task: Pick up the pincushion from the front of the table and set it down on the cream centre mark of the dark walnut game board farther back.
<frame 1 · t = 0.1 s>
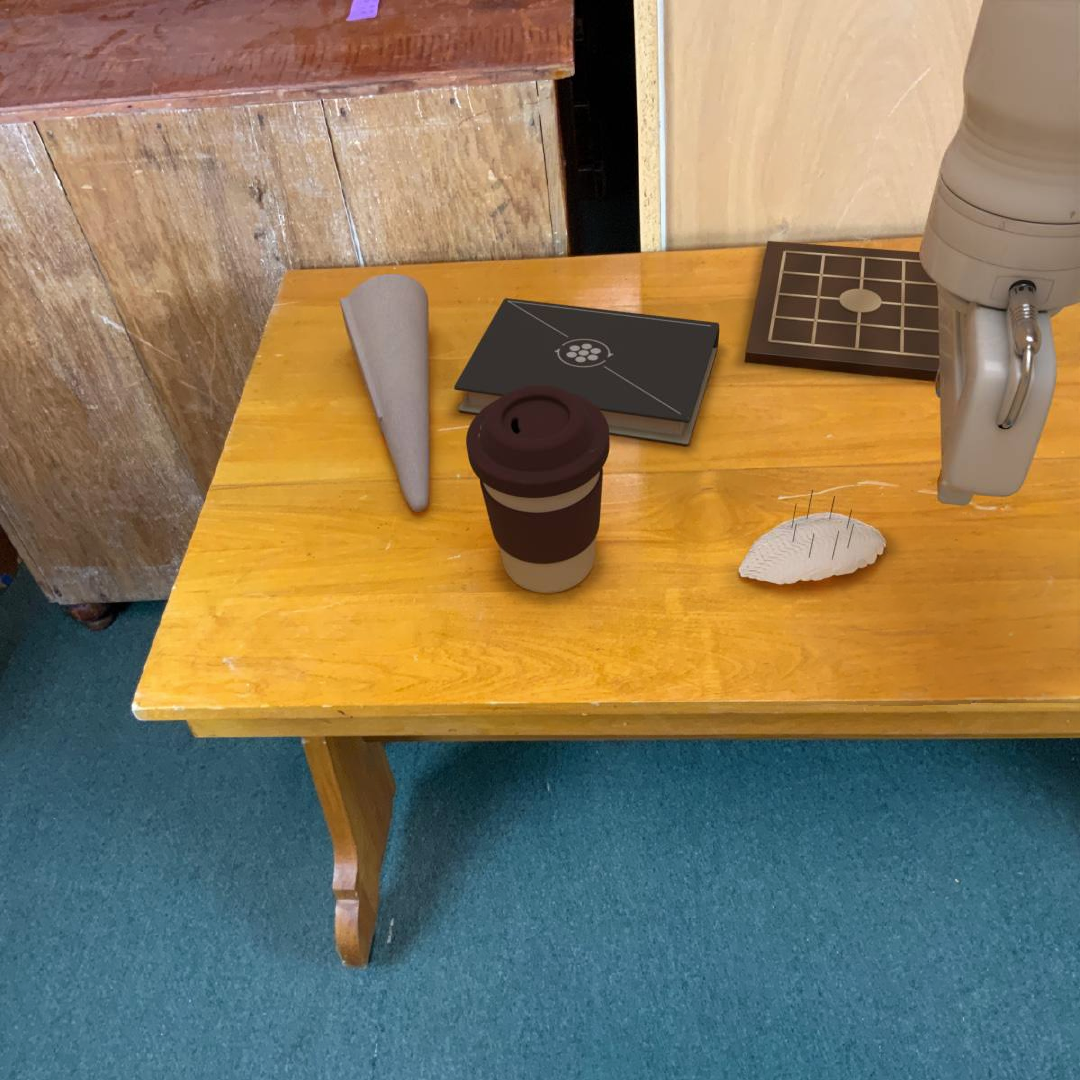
hand: (950, 441, 58), 17 cm above the table, tool pointing down, fingers open, 8 cm apart
coffee cup: (549, 562, 76), on the table
book: (591, 380, 91), on the table
pincushion: (811, 562, 74), on the table
board: (858, 311, 95), on the table
grey tapered cone: (422, 414, 89), on the table
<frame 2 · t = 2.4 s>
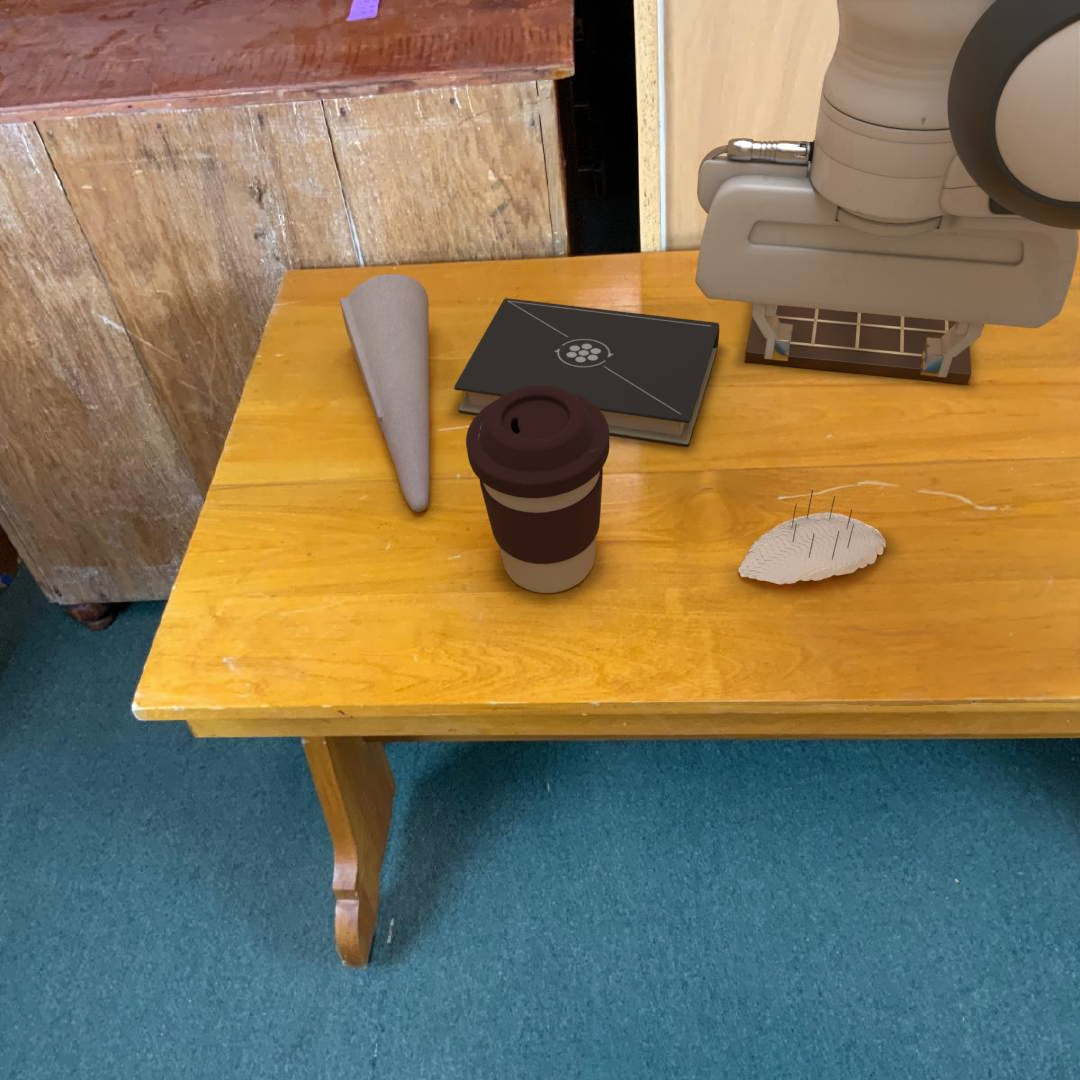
hand: (853, 362, 60), 19 cm above the table, tool pointing down, fingers open, 8 cm apart
nothing on the table moved.
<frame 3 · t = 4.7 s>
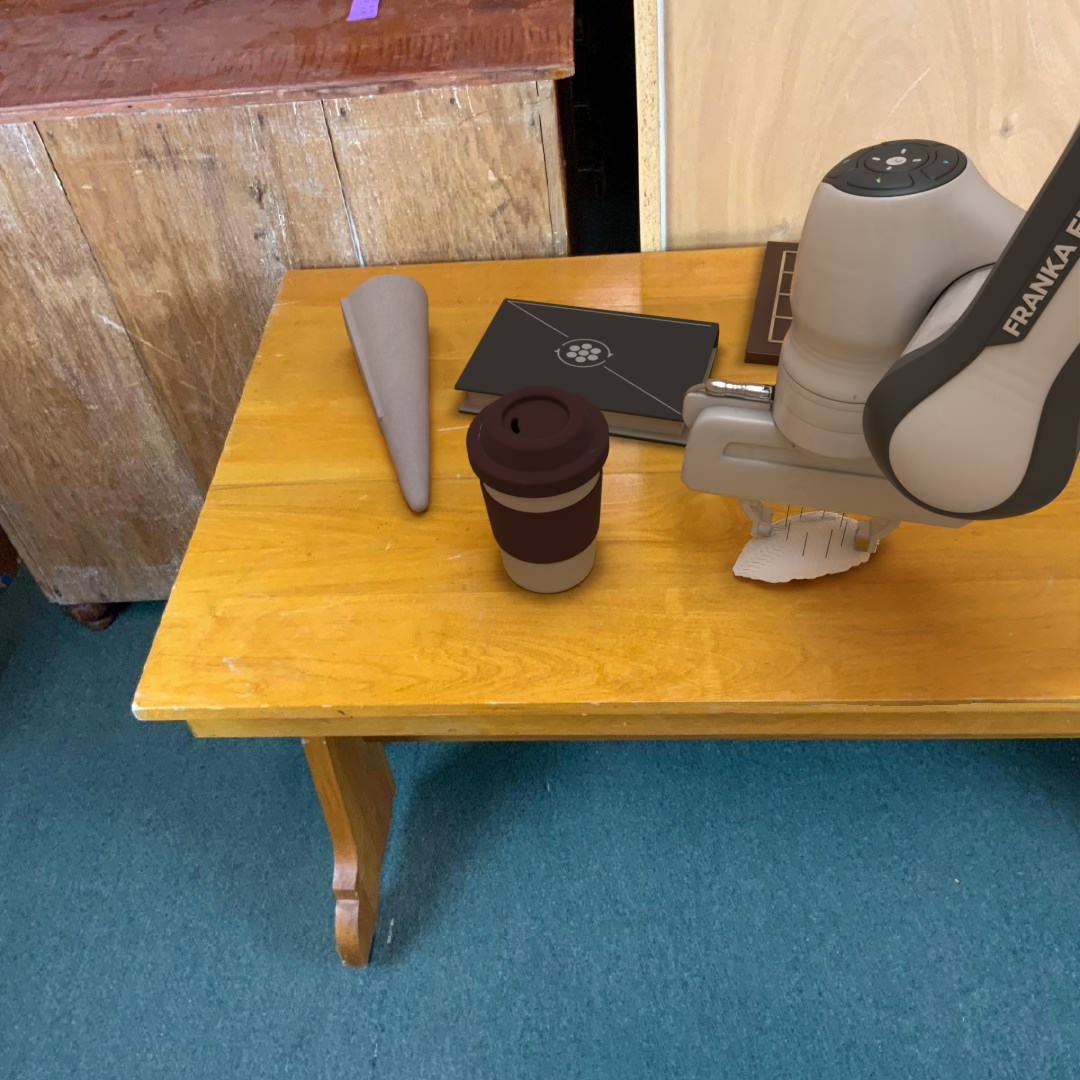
hand: (811, 538, 72), 2 cm above the table, tool pointing down, fingers closed on pincushion, 6 cm apart
pincushion: (805, 561, 74), on the table, touching gripper
everything else where it was.
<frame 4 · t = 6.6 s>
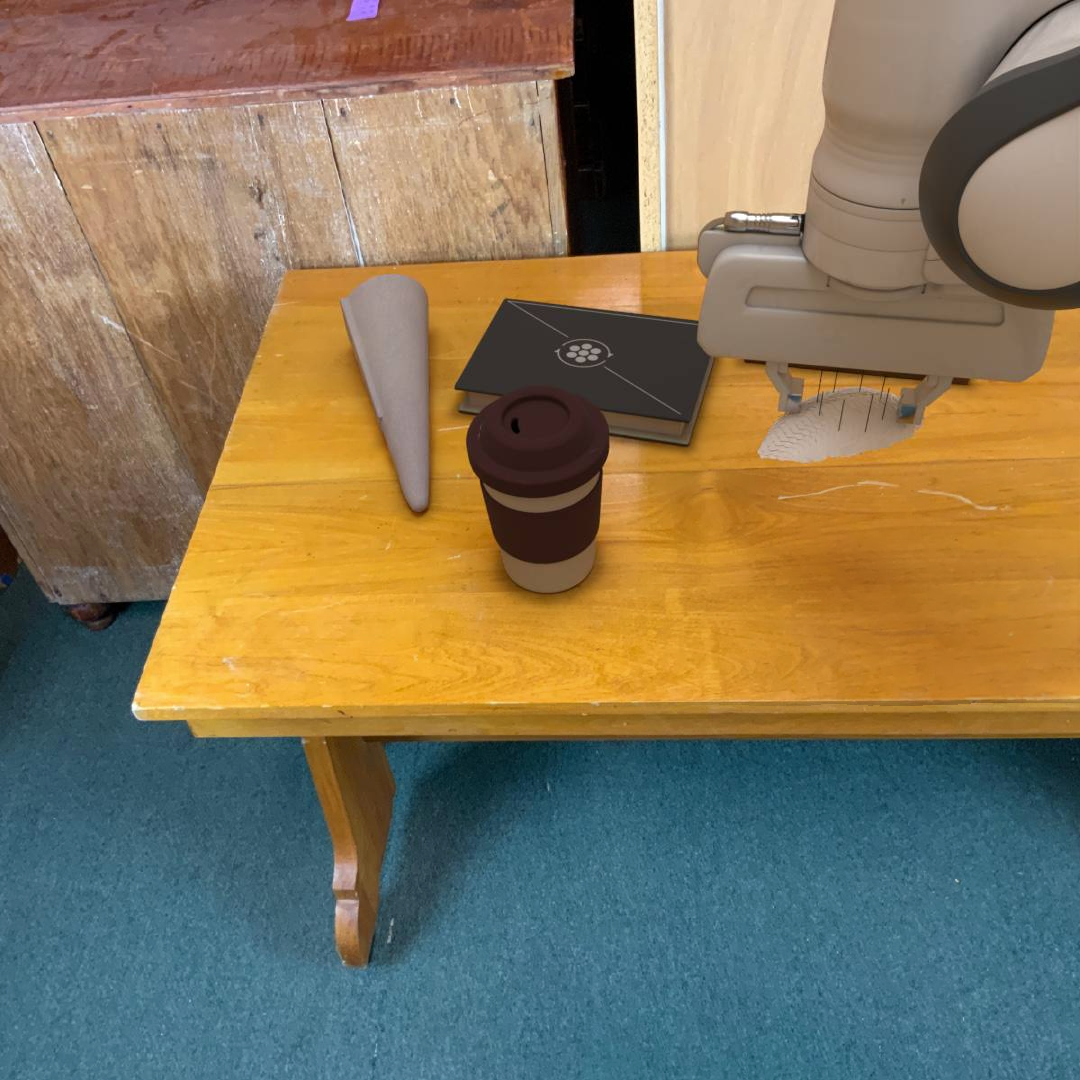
hand: (848, 412, 63), 15 cm above the table, tool pointing down, fingers closed on pincushion, 6 cm apart
pincushion: (840, 443, 65), point 12 cm above the table, touching gripper
everything else where it was.
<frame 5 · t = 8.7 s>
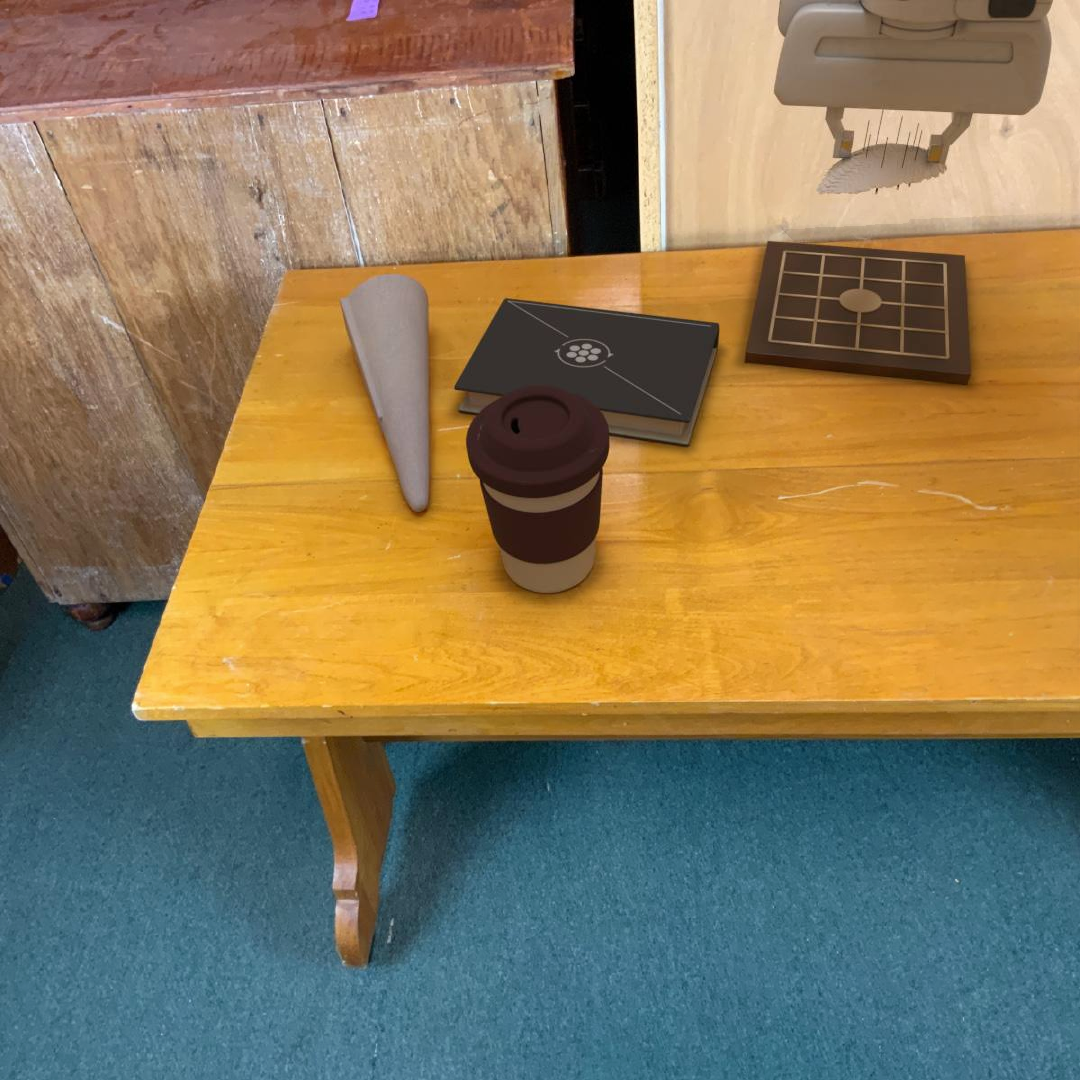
hand: (888, 158, 81), 17 cm above the table, tool pointing down, fingers closed on pincushion, 6 cm apart
pincushion: (880, 187, 83), point 15 cm above the table, touching gripper
everything else where it was.
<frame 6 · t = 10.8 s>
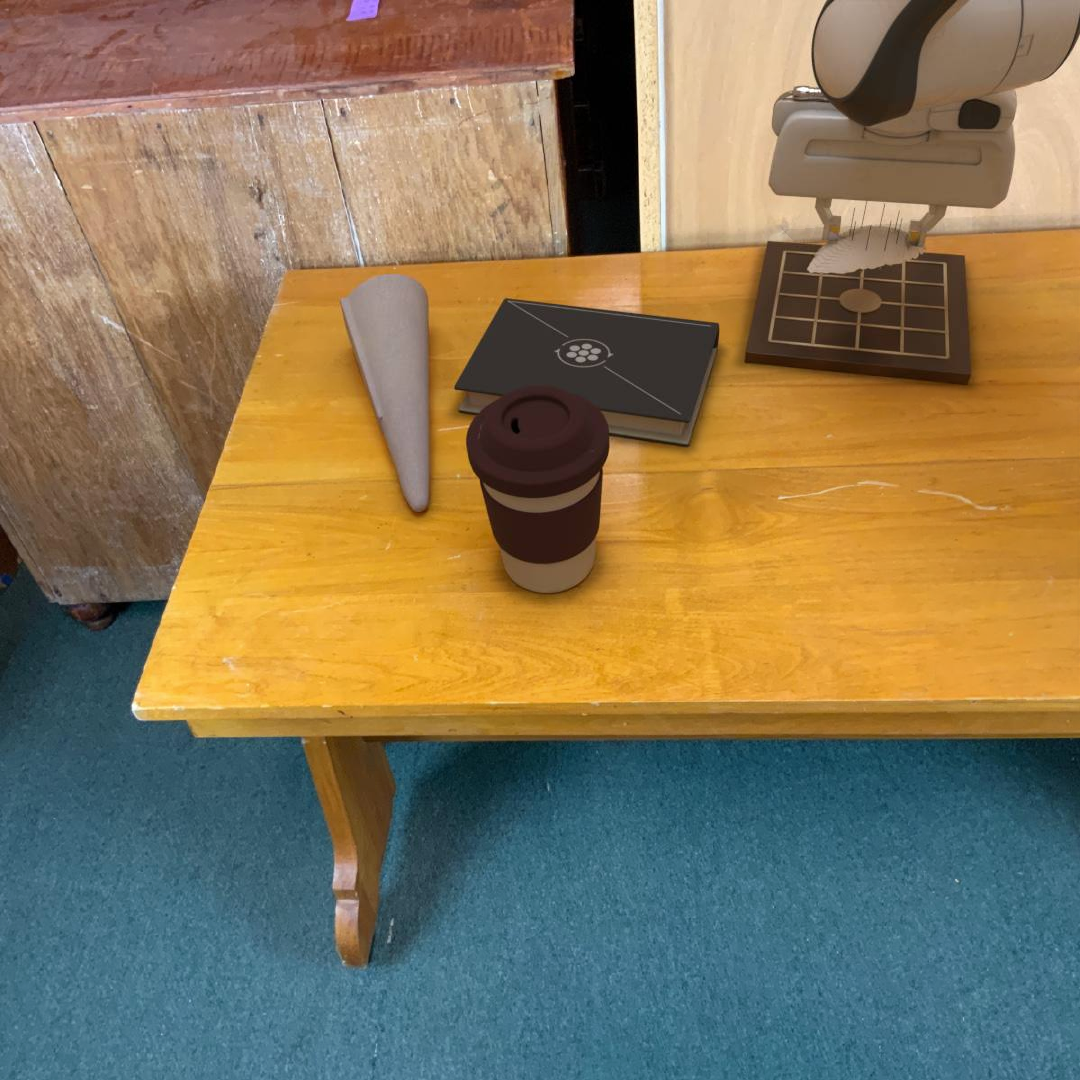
hand: (872, 240, 89), 8 cm above the table, tool pointing down, fingers closed on pincushion, 6 cm apart
pincushion: (865, 265, 91), point 5 cm above the table, touching gripper
everything else where it was.
when the fingers open (4 cm above the table, at t = 12.6 s): pincushion stays where it is, resting on board.
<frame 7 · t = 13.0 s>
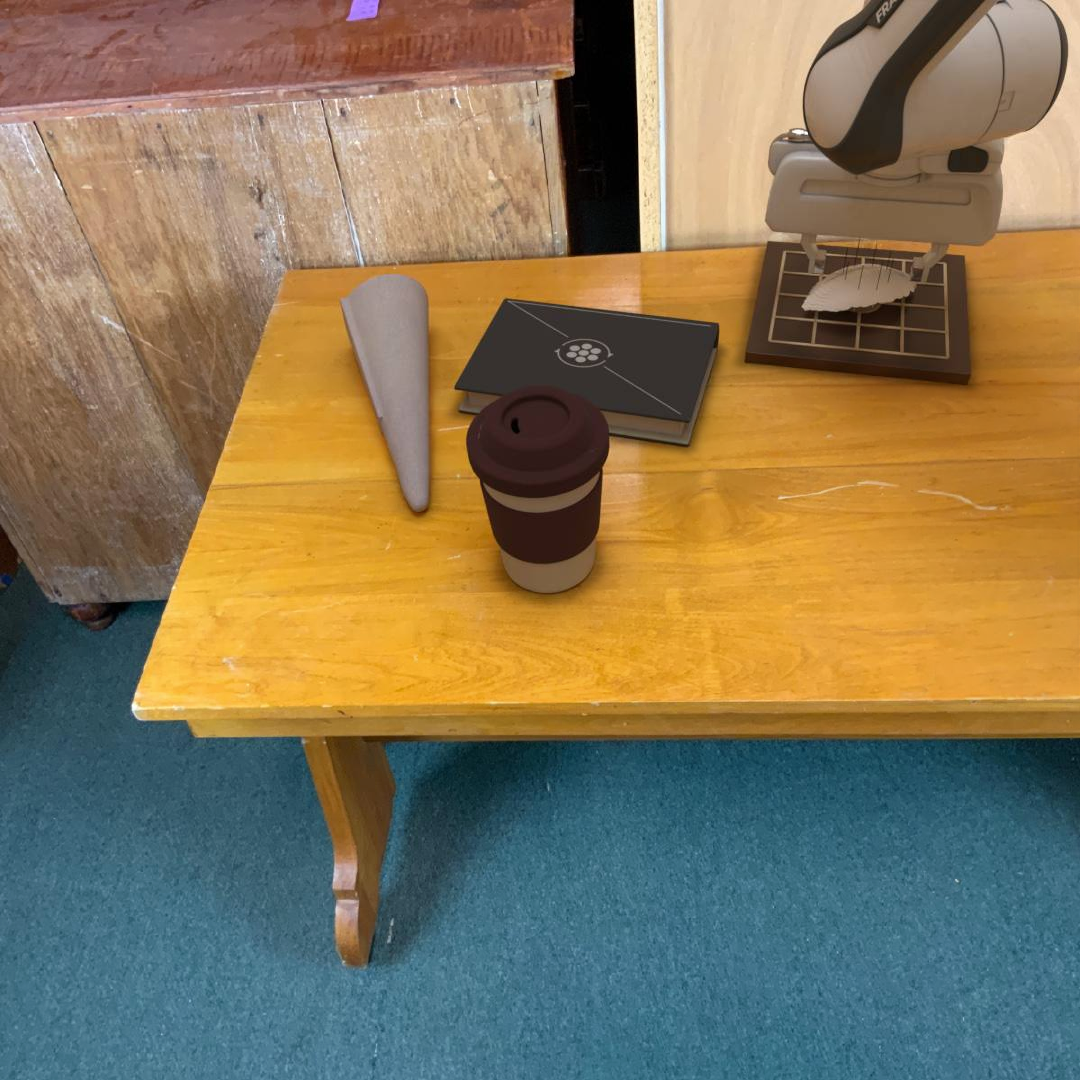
hand: (865, 274, 92), 4 cm above the table, tool pointing down, fingers open, 8 cm apart
pincushion: (858, 302, 94), point 1 cm above the table, touching board
everything else where it was.
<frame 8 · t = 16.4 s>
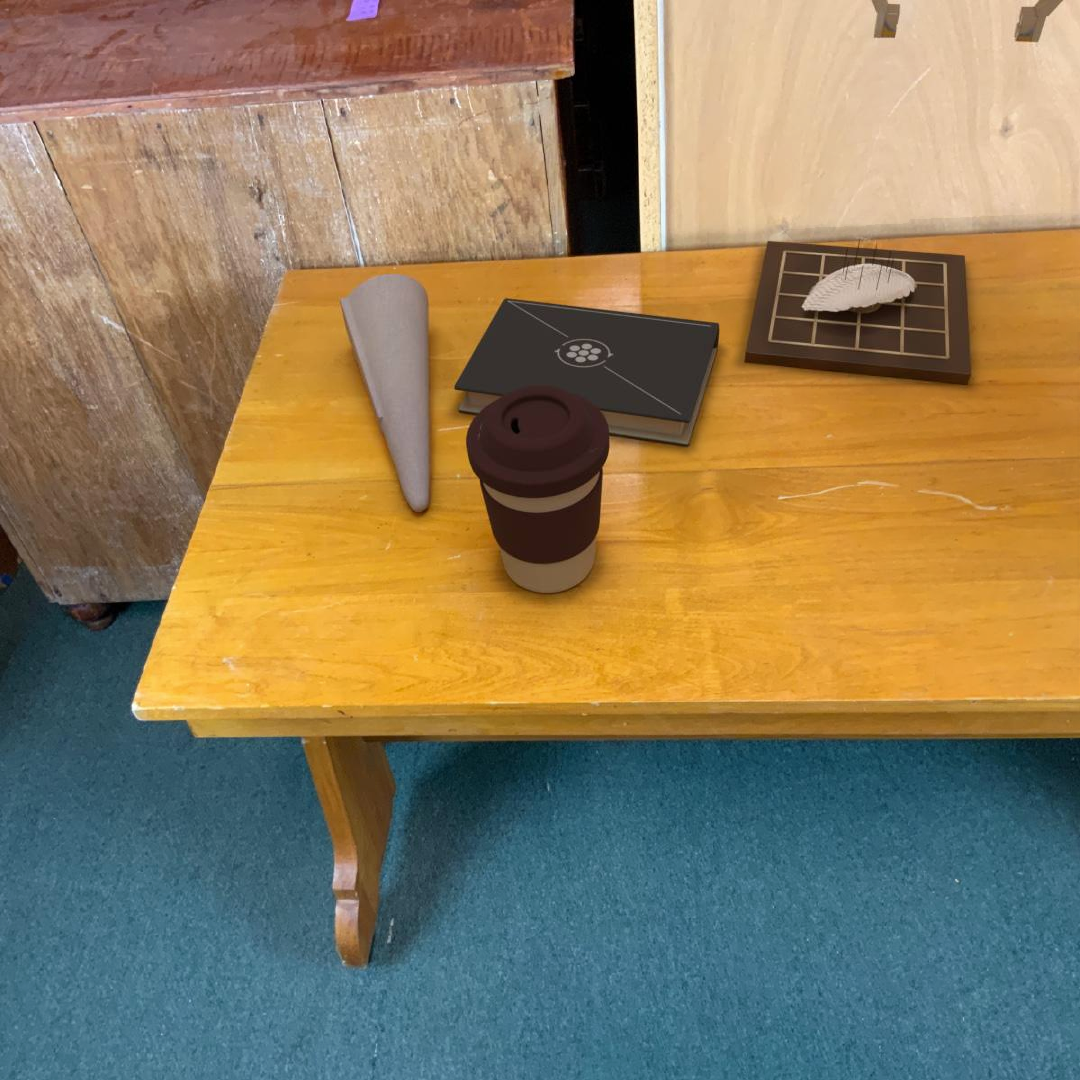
hand: (953, 37, 68), 29 cm above the table, tool pointing down, fingers open, 8 cm apart
nothing on the table moved.
at the end: pincushion 0.3 cm off-centre on the board, point 1.1 cm above the board's base; pincushion tilted 0°; the gripper is holding nothing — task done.
